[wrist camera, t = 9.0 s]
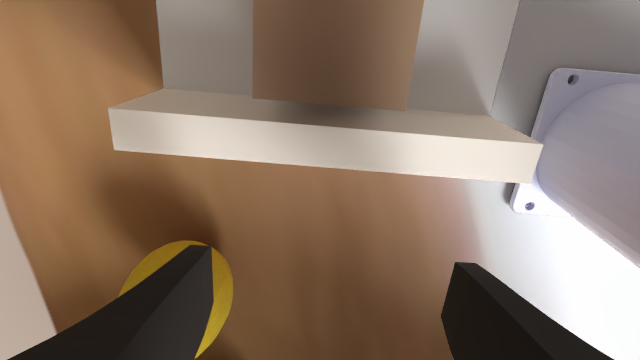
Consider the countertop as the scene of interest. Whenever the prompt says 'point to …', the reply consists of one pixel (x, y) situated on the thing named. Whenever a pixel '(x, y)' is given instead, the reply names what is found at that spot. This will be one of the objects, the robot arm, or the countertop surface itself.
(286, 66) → the cabinet block
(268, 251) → the countertop surface
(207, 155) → the white stand
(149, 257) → the lemon
